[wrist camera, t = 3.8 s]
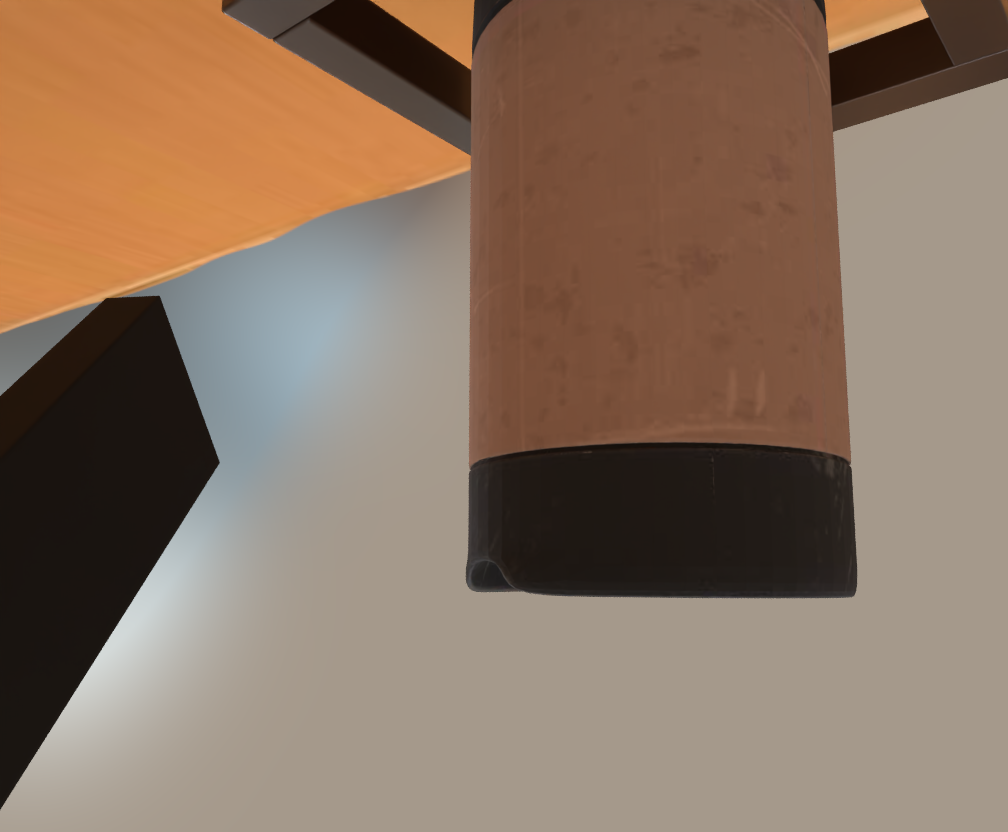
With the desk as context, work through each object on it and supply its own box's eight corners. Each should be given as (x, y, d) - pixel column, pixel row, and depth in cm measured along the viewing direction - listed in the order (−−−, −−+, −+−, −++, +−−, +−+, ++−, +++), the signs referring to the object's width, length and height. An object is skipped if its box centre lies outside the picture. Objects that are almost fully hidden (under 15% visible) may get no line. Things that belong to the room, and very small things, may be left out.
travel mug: (820, -188, 23) (874, 595, 19) (548, -96, 26) (549, 590, 22) (779, -519, 16) (850, 601, 12) (416, -338, 19) (386, 593, 15)
